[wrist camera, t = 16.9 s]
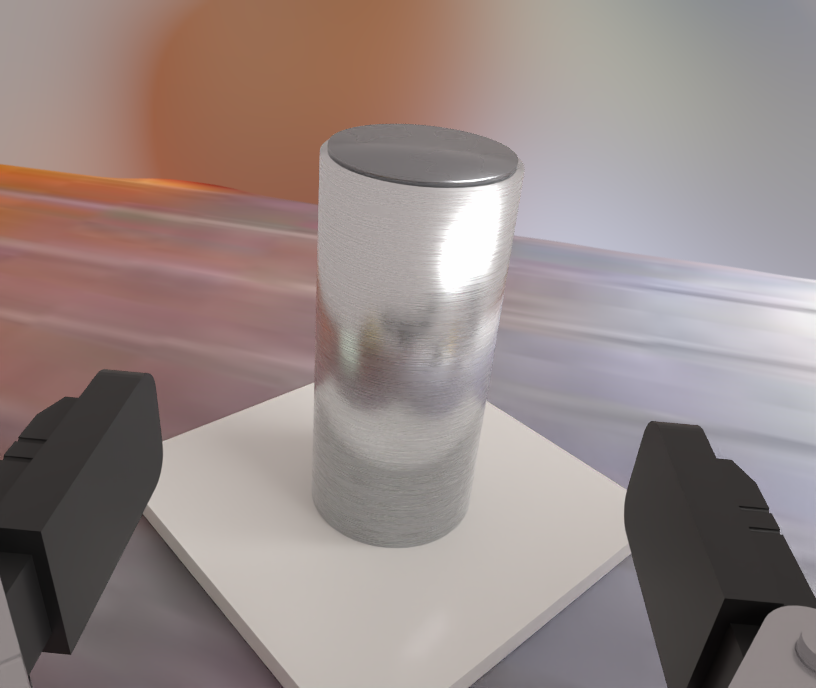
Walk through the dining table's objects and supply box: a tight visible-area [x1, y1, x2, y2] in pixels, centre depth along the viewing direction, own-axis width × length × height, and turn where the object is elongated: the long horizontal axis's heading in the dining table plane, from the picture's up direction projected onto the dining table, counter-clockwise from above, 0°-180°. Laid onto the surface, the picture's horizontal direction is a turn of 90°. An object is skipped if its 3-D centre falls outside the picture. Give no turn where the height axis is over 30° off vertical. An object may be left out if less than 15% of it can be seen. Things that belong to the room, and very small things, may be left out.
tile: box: [143, 383, 631, 688], centre depth 27 cm, size 14×14×1 cm
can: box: [312, 124, 524, 548], centre depth 24 cm, size 6×6×12 cm
